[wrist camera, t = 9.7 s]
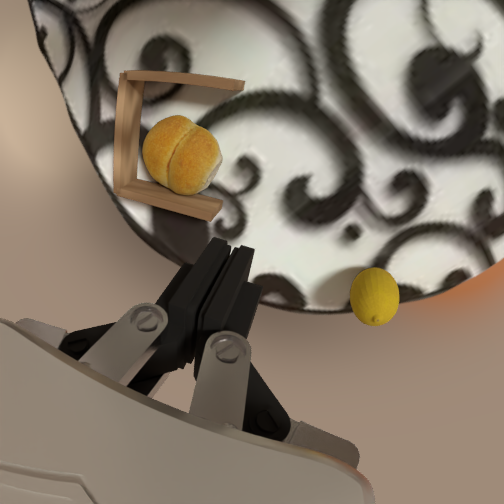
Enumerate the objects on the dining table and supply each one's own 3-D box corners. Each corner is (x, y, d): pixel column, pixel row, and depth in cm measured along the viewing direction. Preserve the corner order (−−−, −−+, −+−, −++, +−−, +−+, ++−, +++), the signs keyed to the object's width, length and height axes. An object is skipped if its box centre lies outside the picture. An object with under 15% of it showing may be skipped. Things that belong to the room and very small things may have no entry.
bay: (139, 70, 27) (120, 70, 24) (245, 81, 26) (234, 80, 23) (130, 184, 35) (113, 194, 32) (221, 208, 34) (210, 221, 31)
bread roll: (167, 104, 29) (148, 107, 26) (235, 143, 30) (222, 151, 26) (141, 164, 33) (122, 174, 30) (201, 202, 34) (187, 216, 31)
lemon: (401, 275, 33) (414, 320, 26) (367, 300, 36) (371, 347, 29) (374, 246, 32) (383, 289, 25) (339, 273, 35) (339, 320, 28)
